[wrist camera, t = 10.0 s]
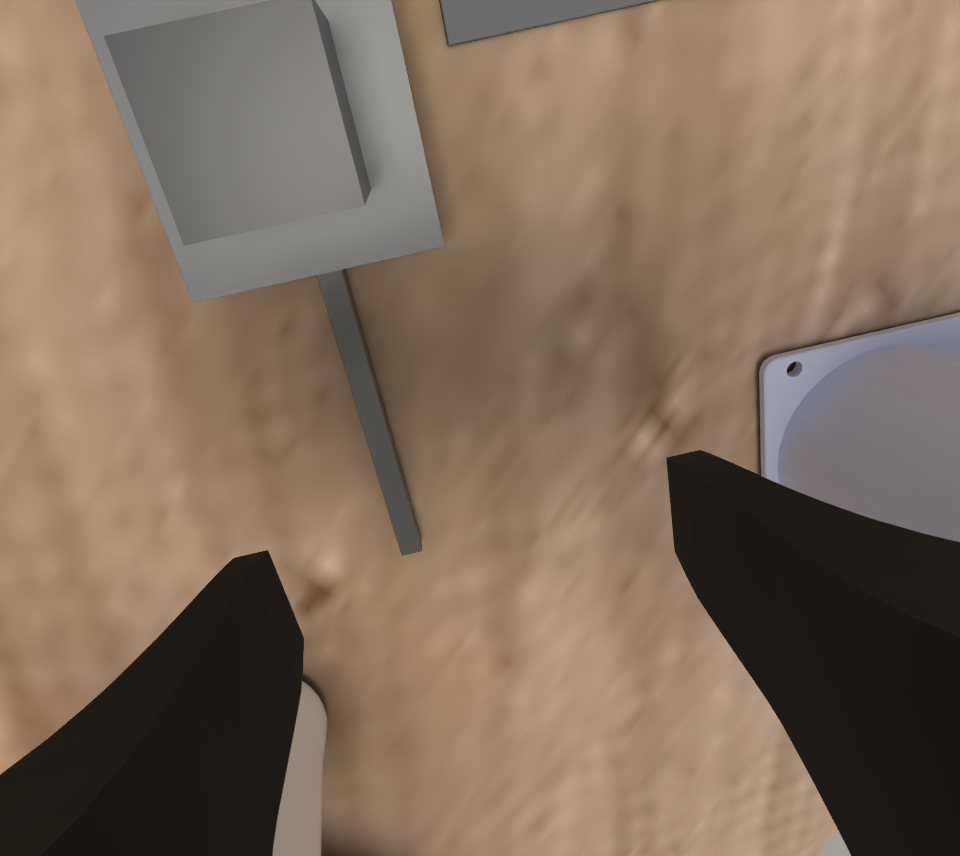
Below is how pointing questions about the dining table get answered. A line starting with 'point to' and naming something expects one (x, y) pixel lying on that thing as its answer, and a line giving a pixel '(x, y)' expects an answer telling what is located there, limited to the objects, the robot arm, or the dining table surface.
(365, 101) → the power strip
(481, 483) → the dining table surface
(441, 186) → the dining table surface
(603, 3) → the felt mat
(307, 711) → the drinking glass
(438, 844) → the dining table surface
